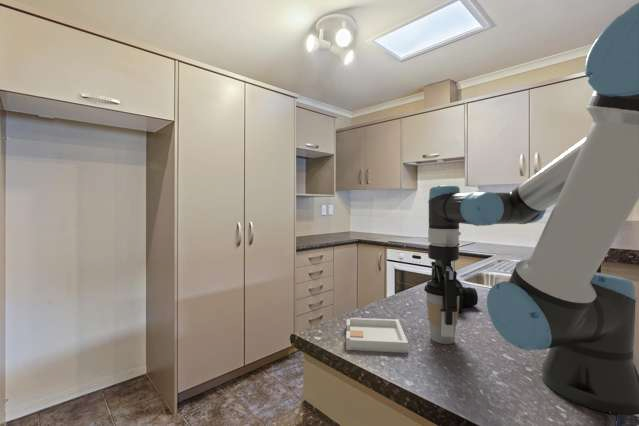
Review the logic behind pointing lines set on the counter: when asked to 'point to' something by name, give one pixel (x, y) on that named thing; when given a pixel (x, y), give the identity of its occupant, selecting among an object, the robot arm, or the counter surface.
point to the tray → (375, 335)
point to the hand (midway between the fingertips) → (442, 329)
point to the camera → (467, 297)
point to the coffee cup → (434, 311)
